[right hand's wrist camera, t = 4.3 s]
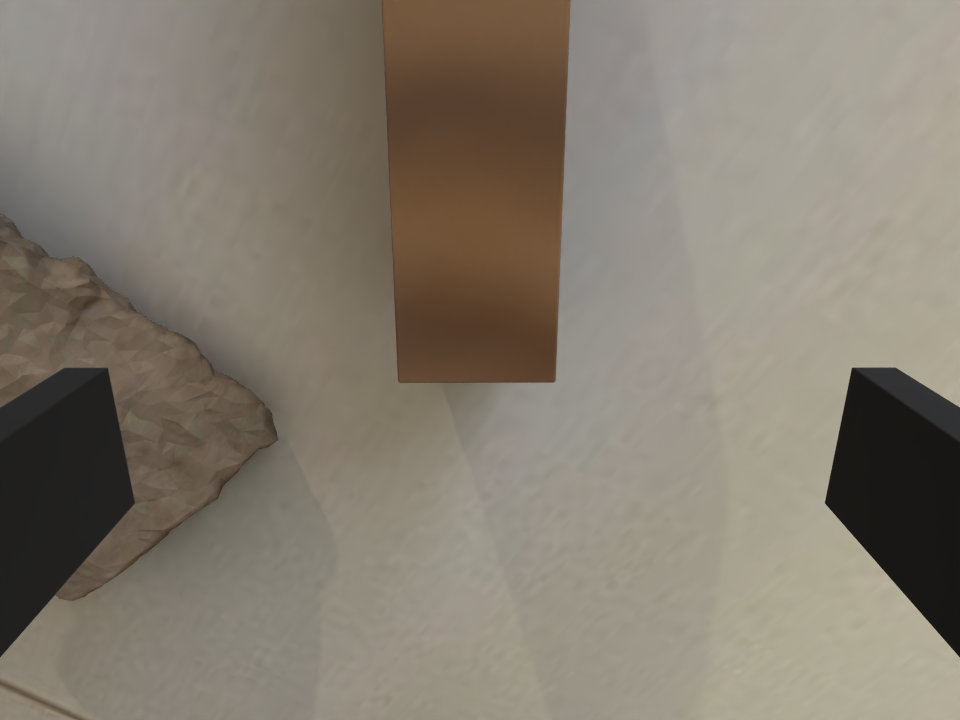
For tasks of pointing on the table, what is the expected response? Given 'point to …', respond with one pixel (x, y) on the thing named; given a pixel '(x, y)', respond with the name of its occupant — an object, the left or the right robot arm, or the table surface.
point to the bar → (476, 185)
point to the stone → (126, 395)
